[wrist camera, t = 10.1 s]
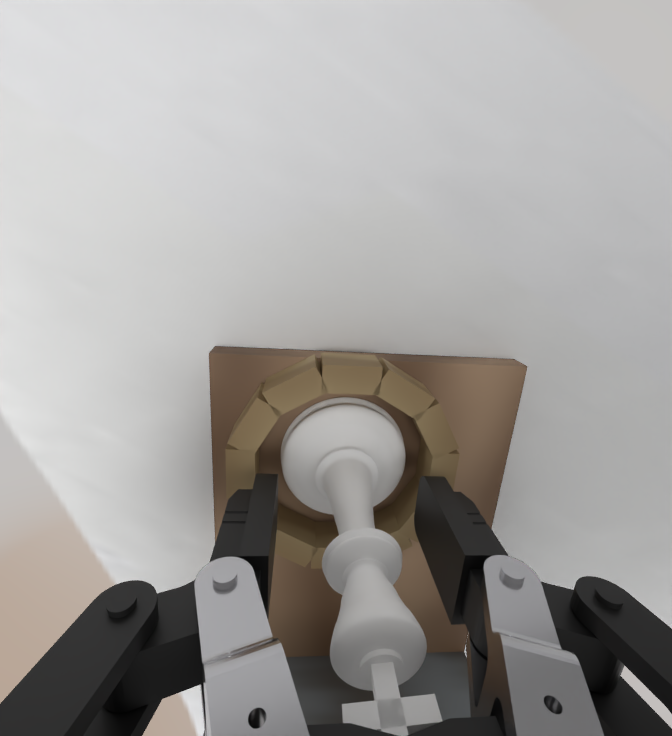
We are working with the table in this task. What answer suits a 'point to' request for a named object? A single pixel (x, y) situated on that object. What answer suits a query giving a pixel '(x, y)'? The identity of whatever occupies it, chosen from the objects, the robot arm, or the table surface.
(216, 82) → the table surface
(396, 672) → the chess piece
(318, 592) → the base
